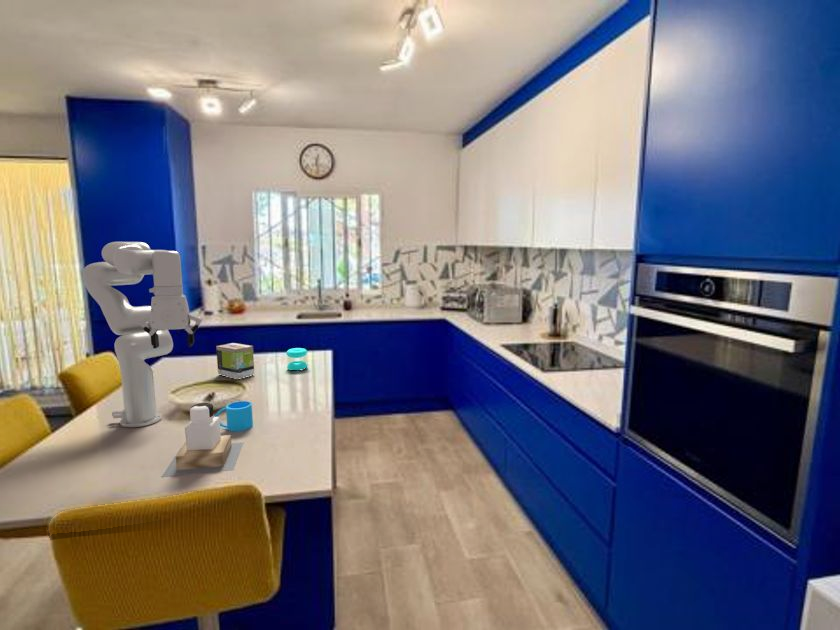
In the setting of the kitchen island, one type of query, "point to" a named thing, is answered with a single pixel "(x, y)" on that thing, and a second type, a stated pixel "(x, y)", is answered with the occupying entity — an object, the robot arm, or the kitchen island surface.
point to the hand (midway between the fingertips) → (173, 346)
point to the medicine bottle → (202, 428)
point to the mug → (238, 416)
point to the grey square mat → (227, 466)
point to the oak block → (204, 455)
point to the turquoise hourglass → (296, 354)
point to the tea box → (235, 360)
